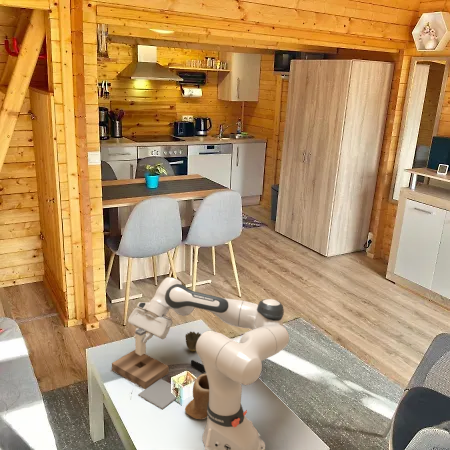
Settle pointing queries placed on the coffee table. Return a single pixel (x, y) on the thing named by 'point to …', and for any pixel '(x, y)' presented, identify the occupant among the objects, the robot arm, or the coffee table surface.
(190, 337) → the cup
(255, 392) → the coffee table surface
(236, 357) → the robot arm
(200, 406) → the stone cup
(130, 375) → the wooden block with hole
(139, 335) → the beige square peg
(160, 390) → the mat
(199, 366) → the electric trimmer
